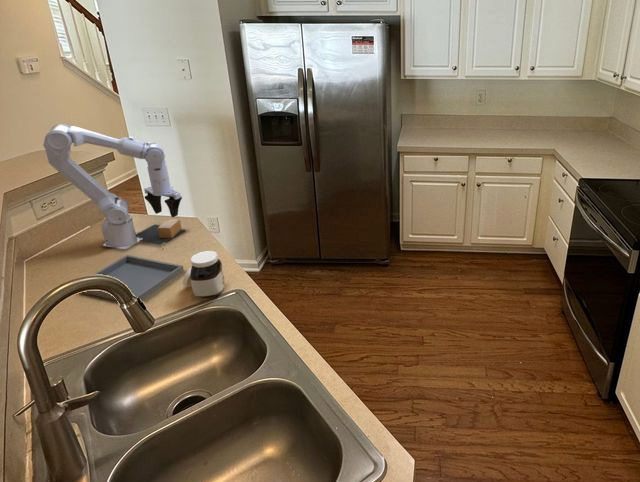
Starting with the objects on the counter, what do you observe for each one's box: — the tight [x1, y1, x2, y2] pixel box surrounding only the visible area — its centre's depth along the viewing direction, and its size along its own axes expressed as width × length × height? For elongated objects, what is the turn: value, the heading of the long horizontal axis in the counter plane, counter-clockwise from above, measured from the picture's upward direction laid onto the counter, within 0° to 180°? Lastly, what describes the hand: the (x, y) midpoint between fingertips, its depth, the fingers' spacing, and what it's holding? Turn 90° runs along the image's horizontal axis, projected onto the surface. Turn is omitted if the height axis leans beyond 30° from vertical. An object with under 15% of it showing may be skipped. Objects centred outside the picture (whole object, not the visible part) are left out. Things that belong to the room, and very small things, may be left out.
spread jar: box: [182, 250, 225, 300], centre depth 124 cm, size 12×11×12 cm
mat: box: [136, 224, 186, 246], centre depth 156 cm, size 14×12×1 cm
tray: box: [82, 254, 185, 302], centre depth 128 cm, size 22×18×3 cm
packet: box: [158, 218, 182, 238], centre depth 156 cm, size 4×7×4 cm, turn 179°
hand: (166, 214), depth 154 cm, fingers open, 7 cm apart
